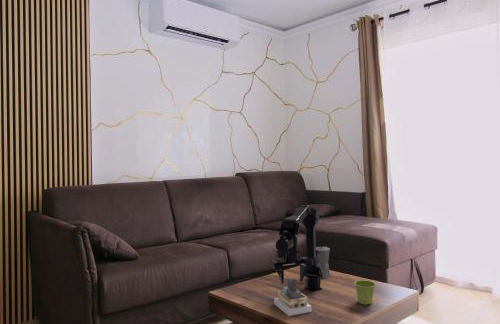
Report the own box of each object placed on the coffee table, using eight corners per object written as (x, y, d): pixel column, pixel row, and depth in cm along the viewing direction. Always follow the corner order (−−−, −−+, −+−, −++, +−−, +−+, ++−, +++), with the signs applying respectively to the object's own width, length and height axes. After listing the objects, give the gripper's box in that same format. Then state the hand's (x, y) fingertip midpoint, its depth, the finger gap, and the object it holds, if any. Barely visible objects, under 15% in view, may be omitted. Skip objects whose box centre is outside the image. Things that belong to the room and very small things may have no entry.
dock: (295, 300, 188) (295, 294, 188) (311, 311, 174) (311, 306, 174) (274, 303, 184) (274, 298, 184) (288, 315, 170) (288, 310, 170)
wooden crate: (294, 295, 187) (294, 274, 187) (308, 305, 175) (308, 282, 174) (276, 298, 184) (276, 276, 184) (289, 308, 171) (289, 285, 171)
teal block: (291, 292, 184) (291, 285, 184) (294, 294, 181) (294, 287, 181) (283, 293, 183) (283, 287, 183) (286, 295, 180) (286, 289, 180)
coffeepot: (319, 271, 233) (318, 240, 232) (334, 273, 228) (334, 241, 227) (307, 278, 220) (307, 245, 219) (324, 281, 215) (323, 247, 214)
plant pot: (377, 300, 186) (377, 281, 186) (374, 307, 177) (374, 287, 177) (356, 297, 190) (356, 279, 190) (352, 304, 181) (352, 285, 181)
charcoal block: (298, 297, 178) (297, 290, 178) (301, 299, 175) (301, 292, 175) (289, 298, 177) (289, 291, 177) (292, 300, 174) (292, 293, 174)
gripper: (301, 241, 189) (302, 274, 190) (264, 245, 183) (265, 279, 183) (313, 246, 179) (313, 281, 179) (274, 250, 172) (275, 287, 173)
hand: (291, 282), depth 179 cm, fingers open, 9 cm apart
